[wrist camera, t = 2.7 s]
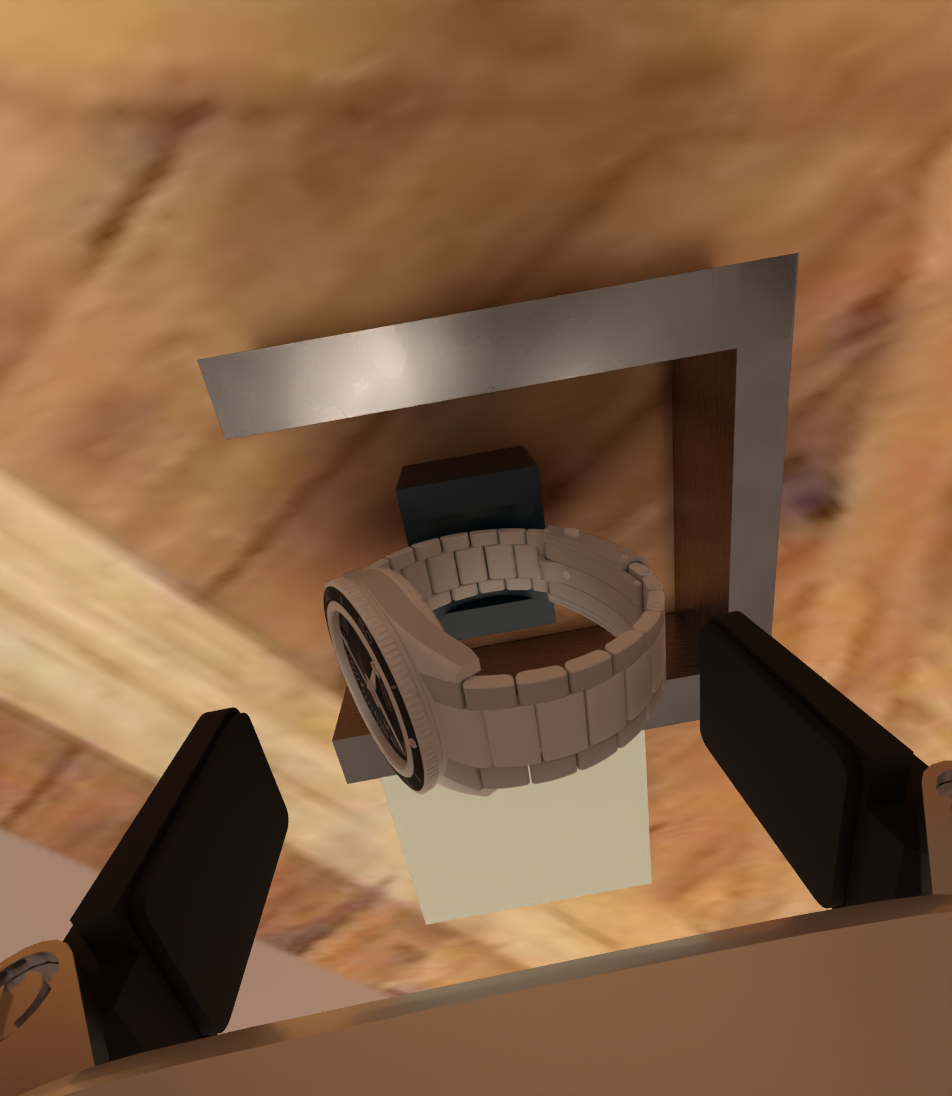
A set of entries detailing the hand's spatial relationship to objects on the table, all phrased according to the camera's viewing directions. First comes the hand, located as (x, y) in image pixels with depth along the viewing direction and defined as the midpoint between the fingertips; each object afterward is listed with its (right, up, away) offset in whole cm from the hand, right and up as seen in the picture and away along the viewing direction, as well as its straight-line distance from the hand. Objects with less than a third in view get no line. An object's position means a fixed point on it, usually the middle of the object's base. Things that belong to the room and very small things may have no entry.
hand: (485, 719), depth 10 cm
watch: (0, +4, +9) cm, 10 cm away
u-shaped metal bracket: (+1, +5, +9) cm, 10 cm away
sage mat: (+2, -9, +14) cm, 17 cm away
